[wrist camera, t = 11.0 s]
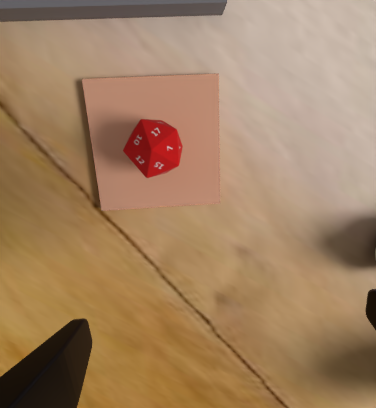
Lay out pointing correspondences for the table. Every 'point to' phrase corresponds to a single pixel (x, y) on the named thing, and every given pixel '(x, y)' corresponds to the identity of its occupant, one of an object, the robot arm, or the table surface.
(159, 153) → the die
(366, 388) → the table surface
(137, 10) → the spacer field
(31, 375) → the robot arm
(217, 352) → the table surface
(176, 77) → the terracotta tile
